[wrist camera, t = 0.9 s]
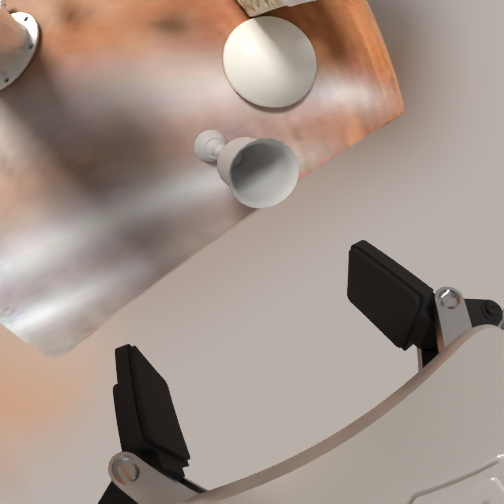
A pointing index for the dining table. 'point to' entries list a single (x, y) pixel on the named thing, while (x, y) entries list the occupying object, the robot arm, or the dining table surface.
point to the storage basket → (266, 5)
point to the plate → (269, 62)
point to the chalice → (251, 167)
